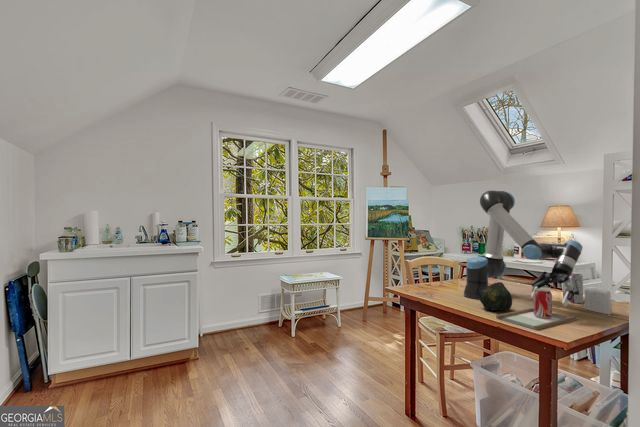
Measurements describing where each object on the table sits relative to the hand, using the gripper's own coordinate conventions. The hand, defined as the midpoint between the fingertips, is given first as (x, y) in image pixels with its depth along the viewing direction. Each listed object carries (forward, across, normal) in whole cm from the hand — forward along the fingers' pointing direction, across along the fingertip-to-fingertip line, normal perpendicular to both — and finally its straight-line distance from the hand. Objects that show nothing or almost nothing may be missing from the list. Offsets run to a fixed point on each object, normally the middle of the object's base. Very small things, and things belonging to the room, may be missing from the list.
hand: (547, 301), depth 149 cm
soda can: (+7, +1, -4) cm, 8 cm away
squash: (+12, +20, +1) cm, 23 cm away
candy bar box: (-26, +11, -38) cm, 47 cm away
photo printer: (-17, -6, -29) cm, 34 cm away
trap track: (+10, +1, 0) cm, 11 cm away
